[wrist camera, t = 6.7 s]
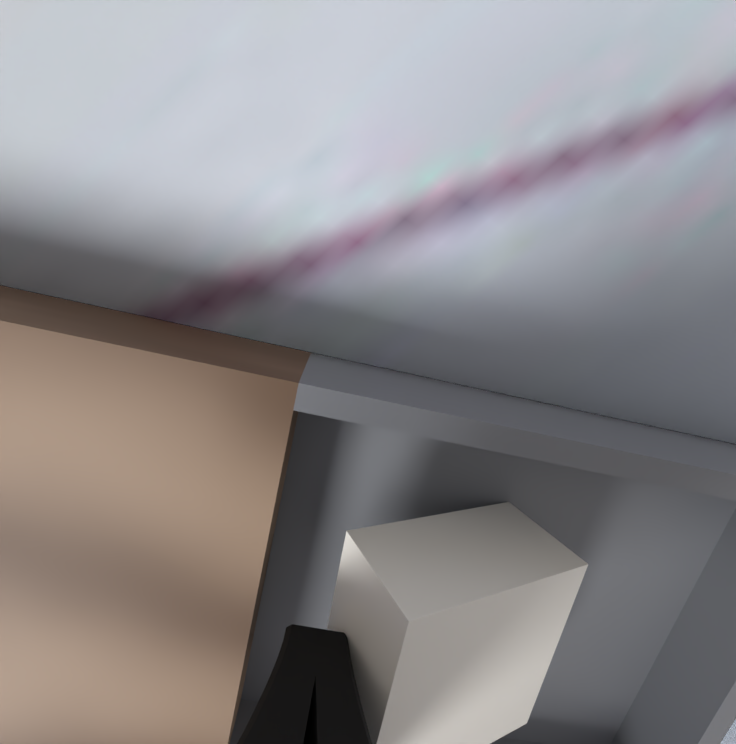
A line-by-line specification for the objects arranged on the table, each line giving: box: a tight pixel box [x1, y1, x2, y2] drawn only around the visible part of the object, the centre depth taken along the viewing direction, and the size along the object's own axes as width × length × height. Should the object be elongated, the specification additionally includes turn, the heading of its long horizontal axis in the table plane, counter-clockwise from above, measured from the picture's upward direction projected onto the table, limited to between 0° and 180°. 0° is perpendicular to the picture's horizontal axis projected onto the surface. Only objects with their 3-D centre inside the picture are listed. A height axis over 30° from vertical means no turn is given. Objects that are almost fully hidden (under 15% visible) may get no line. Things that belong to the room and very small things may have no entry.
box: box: [230, 353, 736, 744], centre depth 12 cm, size 12×13×2 cm
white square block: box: [327, 502, 588, 744], centre depth 11 cm, size 5×5×2 cm
